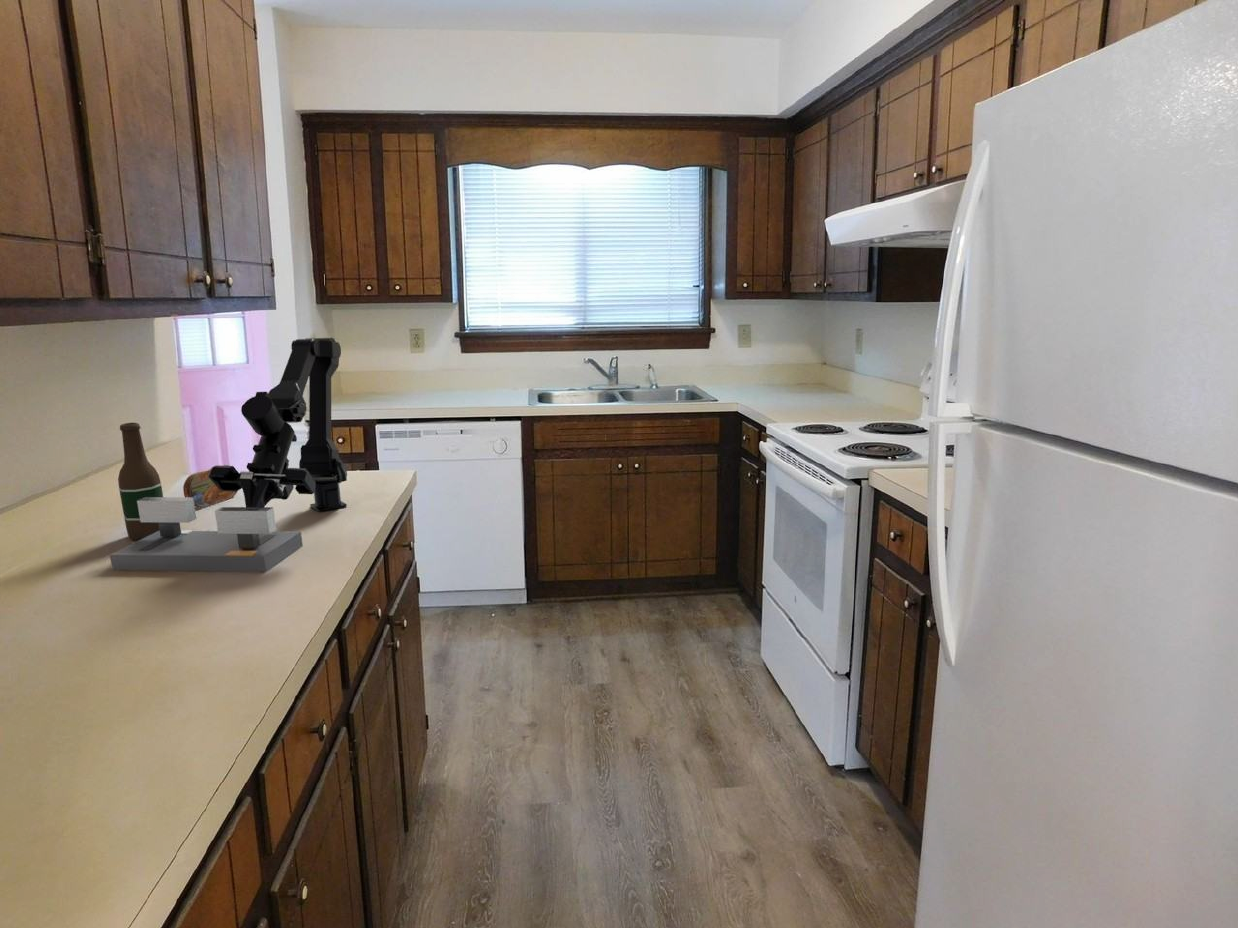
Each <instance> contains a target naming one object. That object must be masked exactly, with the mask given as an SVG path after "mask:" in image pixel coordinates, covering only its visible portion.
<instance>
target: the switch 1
mask: <svg viewBox="0 0 1238 928" xmlns="http://www.w3.org/2000/svg"><path fill="white" fill-rule="evenodd" d="M137 504H138V510H139V516H140V521H141V522H158V524H159V530H160V536H161V537H175V536H177V535H179V534H181V530H182V529H181V523H185V524H186V523H188V524H189V523H191V522H193V521H195V520H197V514H196V507H194V500H193V497H185V496H183V497H182V496H181V497H180V496H179V497H175V496H171V497H170V496H169V497H165V496H163V497H145V498H142V499H140V500H137Z"/></svg>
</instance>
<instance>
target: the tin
mask: <svg viewBox="0 0 1238 928" xmlns="http://www.w3.org/2000/svg"><path fill="white" fill-rule="evenodd" d="M222 466H230V465H227V464H224V465H222ZM211 468H212V467H210V468H207V469H204V470H201V471H197V472H194V473H191V474H190V475H189V476H188V477H186V479H185V481H184V483H183V486H182V489H183V497H193V500H194V507H195V508H202V509H203V508H205V507H206V508H208V506H209V507H211V505H212V506H214V505H217V504H219V502H220V503H222V502H225V501H227V500H231V499H232V498H234V497H235V496H236V495H237V493H238V491H237V492H232V491H222V490H220V489H219V488H218V487H217V486H216V485H215V484H214V483H213V482H212V481H211V479H210V478H209V477H208V475H209V472H210V470H211ZM216 503H217V504H216ZM206 508H205V509H206Z"/></svg>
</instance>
